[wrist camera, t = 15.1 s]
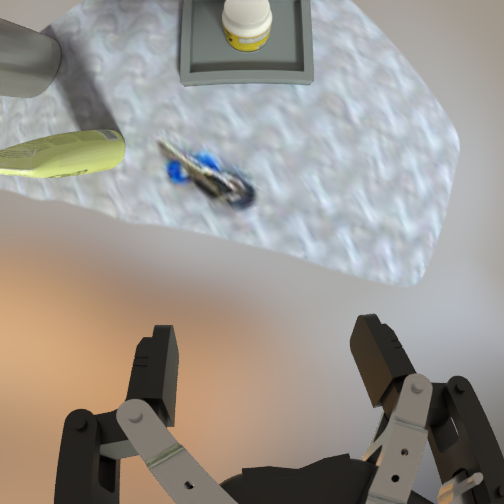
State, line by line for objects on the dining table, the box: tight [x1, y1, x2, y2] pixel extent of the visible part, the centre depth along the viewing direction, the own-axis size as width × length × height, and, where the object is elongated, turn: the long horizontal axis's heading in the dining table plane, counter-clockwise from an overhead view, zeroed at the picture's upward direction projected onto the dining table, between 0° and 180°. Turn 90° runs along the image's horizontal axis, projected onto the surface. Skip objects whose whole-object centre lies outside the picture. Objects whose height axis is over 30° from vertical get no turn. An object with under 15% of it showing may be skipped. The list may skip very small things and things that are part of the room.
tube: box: [0, 129, 125, 178], centre depth 23 cm, size 6×5×20 cm
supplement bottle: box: [222, 0, 272, 53], centre depth 23 cm, size 5×5×8 cm
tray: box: [180, 0, 314, 87], centre depth 27 cm, size 14×12×2 cm
